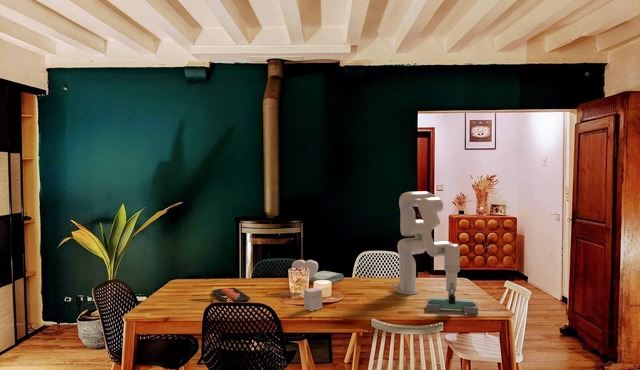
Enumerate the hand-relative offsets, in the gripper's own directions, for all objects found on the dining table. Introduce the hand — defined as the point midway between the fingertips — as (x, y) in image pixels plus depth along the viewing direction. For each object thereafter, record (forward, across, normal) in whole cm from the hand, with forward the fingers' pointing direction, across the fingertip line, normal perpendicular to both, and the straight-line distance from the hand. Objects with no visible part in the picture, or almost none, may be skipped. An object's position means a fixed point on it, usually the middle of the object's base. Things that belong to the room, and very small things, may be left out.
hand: (451, 301), depth 234 cm
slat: (+4, 0, 0) cm, 4 cm away
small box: (+5, +15, -70) cm, 71 cm away
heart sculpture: (+5, -20, -84) cm, 87 cm away
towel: (+5, -45, -80) cm, 92 cm away
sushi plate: (+5, +9, -128) cm, 128 cm away
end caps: (+5, 0, 0) cm, 5 cm away
